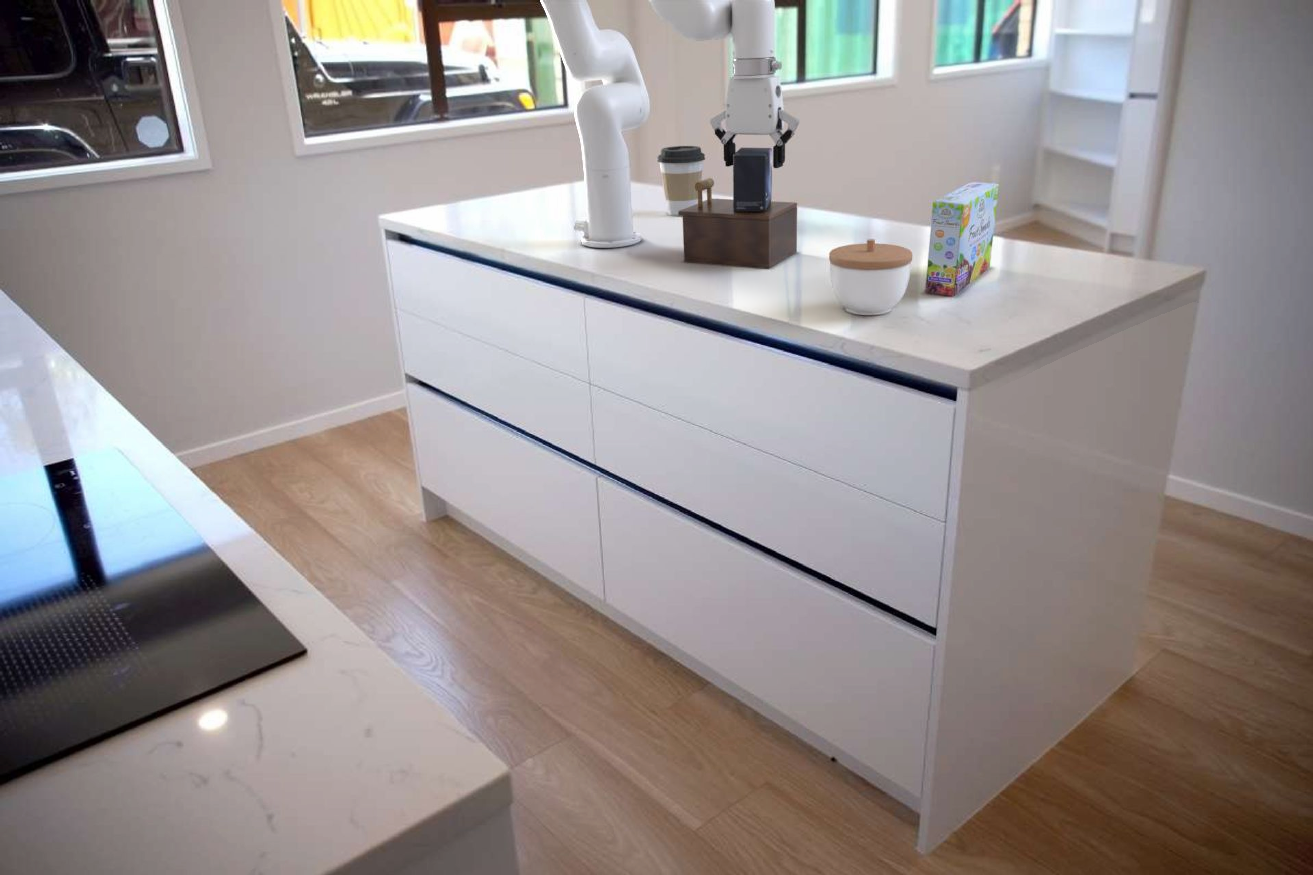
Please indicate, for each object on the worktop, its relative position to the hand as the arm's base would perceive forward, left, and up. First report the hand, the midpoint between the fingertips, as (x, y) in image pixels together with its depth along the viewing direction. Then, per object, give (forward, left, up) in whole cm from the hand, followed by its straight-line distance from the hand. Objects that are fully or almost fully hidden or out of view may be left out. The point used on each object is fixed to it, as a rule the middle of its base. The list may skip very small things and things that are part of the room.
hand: (754, 166), depth 186 cm
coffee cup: (-35, +37, -18) cm, 54 cm away
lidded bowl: (+31, -26, -18) cm, 44 cm away
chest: (-3, 0, -17) cm, 18 cm away
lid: (-3, 0, -8) cm, 9 cm away
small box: (0, 0, -8) cm, 8 cm away
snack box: (+40, -4, -18) cm, 44 cm away
